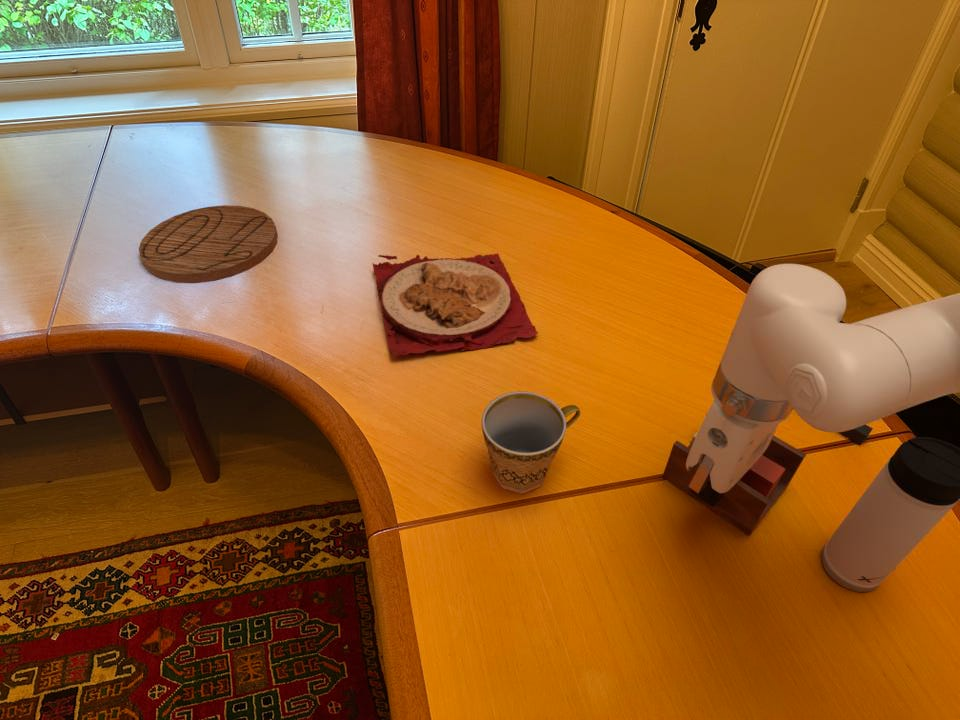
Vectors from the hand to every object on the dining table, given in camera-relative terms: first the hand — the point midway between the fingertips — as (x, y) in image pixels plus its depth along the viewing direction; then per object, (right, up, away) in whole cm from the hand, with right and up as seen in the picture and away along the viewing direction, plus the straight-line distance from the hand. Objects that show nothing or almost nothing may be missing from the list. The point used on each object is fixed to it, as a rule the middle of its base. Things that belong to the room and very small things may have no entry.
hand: (705, 495), depth 71 cm
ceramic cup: (-20, +2, +8) cm, 21 cm away
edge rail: (+19, +10, +17) cm, 27 cm away
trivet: (-79, +38, +47) cm, 99 cm away
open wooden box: (+5, 0, +7) cm, 8 cm away
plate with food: (-31, +26, +34) cm, 53 cm away
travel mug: (+16, -8, -2) cm, 18 cm away
